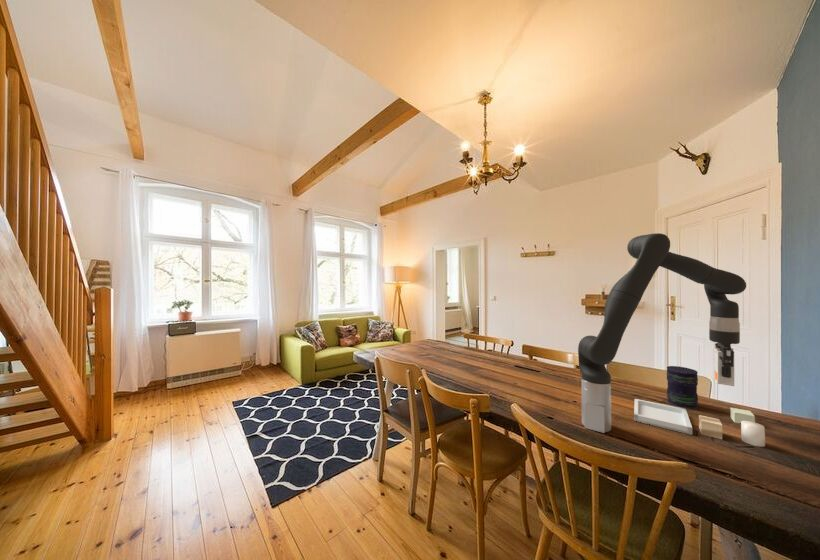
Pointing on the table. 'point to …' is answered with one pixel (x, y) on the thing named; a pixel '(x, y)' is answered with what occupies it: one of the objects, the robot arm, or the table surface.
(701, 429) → the beech block
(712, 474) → the table surface
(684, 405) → the storage jar
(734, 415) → the sage block
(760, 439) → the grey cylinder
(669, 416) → the tray
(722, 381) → the skincare box
